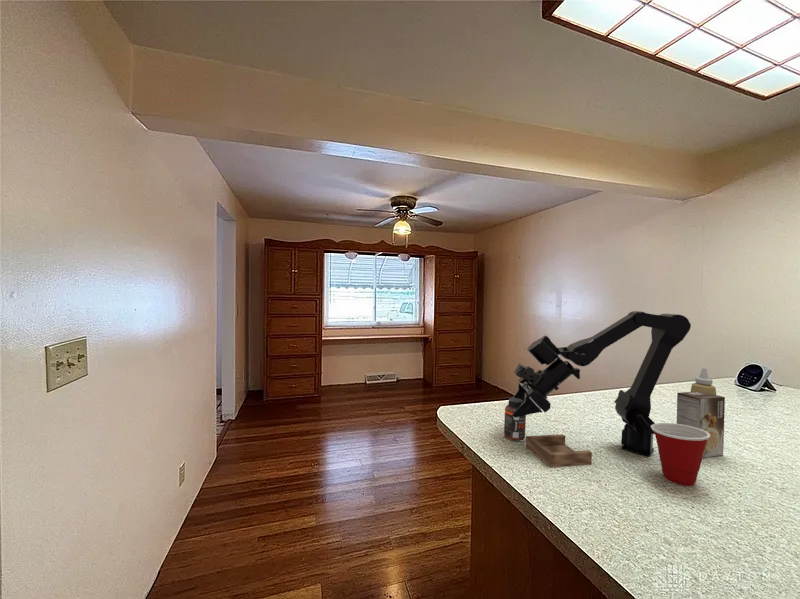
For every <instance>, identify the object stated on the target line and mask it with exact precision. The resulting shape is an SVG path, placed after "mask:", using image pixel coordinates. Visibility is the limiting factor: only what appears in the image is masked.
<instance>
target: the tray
mask: <svg viewBox="0 0 800 599" xmlns="http://www.w3.org/2000/svg"><path fill="white" fill-rule="evenodd" d="M525 448H526V449H527V450H529V452H531V453H532V454H534V455H535V456H536V457H537V458H538V459H540V460H541V461H542V462H543V463H545V464H546V465H547V466H549V467H550V468H556V467H557V468H560V467H574V466H586V465H587V466H588V465H592V461H593V458H592V456H593V452H592V451H590V450H577V451H576V450H574V449H573V448H571V447H569V446H568V445H566V435H564V434H563V433H560V434H545V435H544V434H543V435H525Z"/></svg>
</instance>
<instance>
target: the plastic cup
mask: <svg viewBox="0 0 800 599" xmlns="http://www.w3.org/2000/svg"><path fill="white" fill-rule="evenodd" d="M651 428H652V430H653V431H654V434H653V435H654V436H655V439H656V445H657V450H658V456H659V461H660V465H661V466H660V467H661V472H662V475H663V478H664V479H666V480H667V481H668V482H671V483H673V484H676V485H678V486H682V487H693V486H694V485H695V483H696V482H697V478H698V474H699V472H700V469H701V465H702V462H703V461H702V460H703V458H702V457H703V453H704V449H705V447H706V444H707V440H708V439H709V437H710V434H709V433H708V432H706V431H704V430H702V429H699V428H696V427H692V426H687V425H682V424H677V423H673V422H657V423H655V424H653V425H651Z"/></svg>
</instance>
